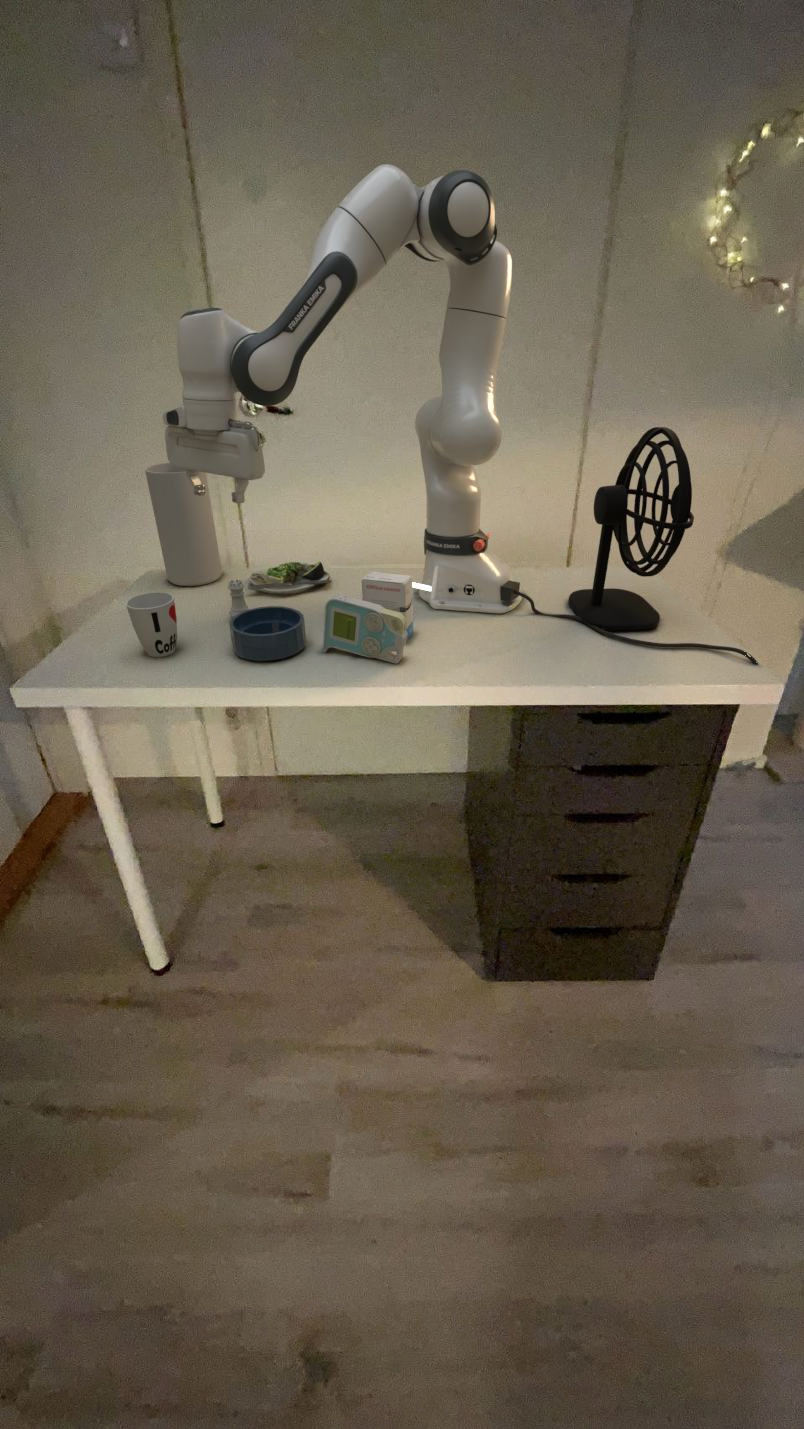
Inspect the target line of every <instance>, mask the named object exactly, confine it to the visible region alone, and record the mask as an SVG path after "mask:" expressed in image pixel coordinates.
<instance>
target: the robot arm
mask: <svg viewBox="0 0 804 1429" xmlns="http://www.w3.org/2000/svg"><path fill="white" fill-rule="evenodd" d="M495 209H496V208H495V203H494V197H493V194H492V191H491V189H490V187H489V185H488V183H487V182H486V180H485V179H484V178H483V177H482V176H481V175H479V174H478V173H476V172H474V171H471V170H467V169H466V170H465V169H456V170H452V171H450V172H448V173H446V174H444V175H441V176H439V177H436V178H434V179H432V180H431V181H430V182H429V183H428V184H426V185H423V186H421V187H419V186H418V185H416V184H415V183H413V181H412V180H411V178H410V177H409V176H408V174H407V173H406V172H404V171H403V170H402V169H401V168H399V167H398V166H395V165H394V164H390V163H383V164H380V165H378V166H376V167H375V168H374V169H373V170H372V171H370V172H369V173H368V174H367V175H366V176H364V177H363V178H362V179H361V180H360V181H359V182H358V183H357V184H356V185H355V186H354V187H353V188H352V189H351V190H350V191H349V192H348V193H347V194H346V196H345V197H343V199H342V201H341V202H339V204H338V205H337V206H336V208H334V210H333V211H332V212H331V214H330V215H329V217H328V219H327V220H326V221H325V223H324V224H323V226H322V228H321V230H320V231H319V233H318V235H317V237H316V239H315V241H314V243H313V245H312V248H311V261H310V266H309V270H308V273H307V275H306V277H305V279H304V282H303V283H302V285H301V286H300V288H299V289H298V291H297V292H296V293H295V294H294V296H293V297H292V298H291V300H289V302H288V304H286V306H285V307H284V309H283V310H282V312H281V313H280V314H279V315H278V317H277V318H276V319H275V320H274V322H273V323H272V324H271V325H270V326H268V327H267V328H265V329H263V330H262V331H260V332H258V331H257V330H253V329H252V328H249V327H248V326H246V325H244V324H242V323H241V322H239V321H238V320H237V319H235V318H233V317H232V316H230V315H229V314H228V313H227V312H226V311H225V310H224V309H223V308H220V307H208V308H201V309H195V310H189V311H187V312H185V313H184V314H182V315H181V316H180V318H179V319H178V321H177V325H176V350H177V360H178V369H179V373H180V375H181V378H182V385H183V386H182V392H181V393H182V404H181V405H179V406H176V407H173V408H171V409H168V410H165V411H163V413H162V419H163V423H164V425H166V426H167V427H166V428H165V431H164V441H165V449H166V450H165V451H166V456H167V460H168V463H170V464H171V465H172V466H173V467H176V468H182V469H186V476H187V478H188V479H189V481H190V483H191V485H192V487H193V494H194V495H198V496H202V495H205V494H206V491H205V485H202V484H201V481H200V479H199V477H198V475H199V474H200V472H205V473H206V474H212V475H217V476H224V477H230V478H234V484H235V485H236V488H235V491H233V492H231V502H232V503H235V504H244V503H245V500H246V499H245V492H246V490H247V488H248V486H249V483H250V482H249V481H255V480H259V479H262V478H263V477H264V475H265V473H266V466H265V458H264V453H263V447H262V443H261V437H260V431H259V430H258V429H257V427H256V426H254V425H253V423H252V422H251V421H242V420H238V412H237V410H238V409H237V399H236V398H237V397H236V395H237V393H240V394H241V395H242V396H243V397H244V398H245V399H246V400H247V401H249V402H251V403H253V404H255V405H259V406H262V407H271V406H276V405H278V404H281V403H283V402H284V401H285V400H286V399H288V398H289V397H290V395H291V394H292V393H293V391H294V389H295V386H296V384H297V380H298V377H299V373H300V370H301V365H302V363H303V361H304V358H305V357H306V355H307V353H308V352H309V351H310V349H311V348H312V346H313V345H314V344H315V342H316V341H317V340H318V338H319V337H320V336H321V334H322V333H323V332H324V331H325V329H326V328H327V326H329V324H330V323H331V321H332V320H333V319H334V318H335V316H336V315H337V314H338V313H339V312H340V311H341V310H342V309H343V308H344V307H345V306H346V305H348V304H349V303H350V302H351V301H352V300H354V299H355V298H356V297H358V296H359V295H360V294H361V293H362V292H363V291H365V290H366V289H367V288H368V287H369V286H370V285H371V284H372V283H373V282H374V281H375V280H376V279H377V278H378V277H379V275H380V274H381V273H382V272H384V269H385V268H386V267H387V266H388V265H389V263H390V262H391V261H392V259H393V258H394V256H396V255H397V253H398V252H399V251H401V249H402V248H404V247H405V248H406V249H408V250H409V251H410V252H412V253H413V254H414V255H415V256H417V257H418V258H420V259H422V260H424V261H427V262H433V263H436V262H441V261H444V262H445V264H446V266H447V270H448V274H449V293H448V297H447V302H446V309H445V312H444V313H445V314H444V320H443V326H442V332H441V338H440V345H439V352H438V363H439V366H440V371H441V372H440V373H441V395H439V396H435V397H433V398H430V399H428V400H426V401H425V402H423V404H422V405H420V407H419V409H418V410H417V412H416V415H415V418H414V429H415V434H416V437H417V439H418V442H419V450H420V458H421V463H422V464H421V466H422V469H423V470H422V471H423V476H424V482H425V494H426V528H424V536H423V553H424V566H423V573H422V579H421V582H420V583H417V582H413V581H412V588H414V589H419V590H418V596H419V597H420V598H421V599H422V600H423V601H425V602H427V603H428V604H429V605H430V607H431V608H432V609H435V610H444V611H445V610H446V611H458V612H471V613H472V612H473V613H475V612H476V613H487V614H505V613H508V612H510V611H512V610H514V609H515V608H517V607H518V605H519V604H520V603H521V601H522V599H523V598H524V599H525V600H527V601H528V602H529V603H530V607H531V611H532V612H533V613H535V614H536V615H538V616H544V617H551V618H559V619H560V618H561V619H572V620H576V621H579V622H581V623H583V624H585V625H587V626H589V627H590V628H591V629H593V630H594V631H597V632H598V633H600V634H602V635H604V636H607V637H610V638H613V639H616V640H619V641H623V642H627V643H631V644H635V645H642V646H646V647H647V646H648V647H655V648H700V649H706V650H715V651H727V652H732V653H737V654H740V655H742V656H744V657H745V658H747V659H748V660H749V661H750V662H751V663H752V664H753V665H755V666H759V662H758V661H757V660H756V658H755V657H754V656H753V655H752V654H750V653H748V652H747V651H745V650H743V649H741V648H738V647H733V646H723V645H712V644H706V643H694V642H683V643H682V642H680V643H679V642H676V643H675V642H674V643H667V642H666V643H664V642H663V643H662V642H653V641H645V640H640V639H635V638H630V637H626V636H622V635H619V634H615V633H613V632H610V631H608V630H604V629H600V628H599V627H597V626H594V625H588V624H587V623H585V622H583V621H582V619H581V618H580V617H579V616H578V615H574V614H565V613H563V614H552V613H551V614H549V613H544V612H542V611H539V610H538V609H536V606H535V601H534V600H533V598H531V597H530V596H529V595H527V594H526V593H523V591H522V590H521V588H520V586H521V582H519V581H514V580H513V575H512V570H511V568H510V567H509V566H508V565H507V564H506V563H505V562H504V561H502V559H500V558H499V557H498V556H497V555H496V554H495V553H493V552H492V551H491V550H490V549H489V548H488V546H489V539H490V532H488V533H487V534H486V533H485V532H483V531H482V530H481V528H480V522H481V501H482V491H481V486H480V484H479V482H478V478H477V473H476V469H475V466H479V465H483V464H485V463H487V462H489V461H490V460H491V459H493V457H494V456H495V455H496V454H497V452H498V450H499V449H500V446H501V443H502V437H503V435H502V434H503V432H502V426H501V423H500V420H499V416H498V368H499V361H500V356H501V351H502V345H503V340H504V334H505V329H506V326H507V325H506V324H507V319H508V314H509V309H510V308H509V307H510V300H511V291H512V280H513V258H512V255H511V252H510V250H509V249H508V248H507V246H506V245H504V244H503V243H502V242H500V241H498V240H497V238H498V227H497V222H496V212H495V211H496V210H495ZM744 651H745V652H744ZM747 653H748V654H749V655H750V656H751V657H749V656H748V655H747ZM745 655H746V656H745ZM756 662H757V663H756Z"/></svg>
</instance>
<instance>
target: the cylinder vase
mask: <svg viewBox="0 0 804 1429" xmlns="http://www.w3.org/2000/svg"><path fill="white" fill-rule="evenodd" d="M144 472H145V476H146V481H147V487H148V492H149V496H150V501H151V505H152V510H153V515H154V520H155V524H156V530H157V534H158V539H159V544H160V545H159V546H160V548H161V549H160V550H161V555H162V558H163V564H164V569H165V573H166V578H167V580H168V582H170V583H171V584H173V585H176V586H180V587H195V586H203V585H208V584H211V583H213V582H215V581H217V580H219V579H220V578H221V577H222V575H223V569H222V563H221V557H220V551H219V544H218V538H217V533H216V527H215V520H214V514H213V508H212V502H211V494H210V489H209V483H208V477H207V473H205V472H200V474H199V475H198V477H199V479H200V481H201V484H202V485H205V491H206V494H205V495H202V496H198V495H194V494H193V487H192V485H191V483H190V481H189V479H188V478H187V476H186V469H182V468H176V467H173V466H172V465H171V464H170V462H163V463H157V464H153V465H149V466H147V467H145V469H144Z"/></svg>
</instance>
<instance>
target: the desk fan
mask: <svg viewBox="0 0 804 1429" xmlns="http://www.w3.org/2000/svg"><path fill="white" fill-rule="evenodd" d="M660 434H662V435H663V436H664V437H665V438H666V439H667V440H661V441H659V442H655V441H653V439H654V438H655V437H657V436H658V435H660ZM681 443H682V442H681V440H680V438H679V437H678V435H677V433H675V431H674V430H672V429H670V428H669V427H665V426H655V427H651V428H650V429H648V430H647V431H645V433H643V435H642V436H641V437H640V439H639V440H638V442H637V443H636V445H635V446H633V448H631V451H630V452H629V454H628V456H627V457H626V460H625V462H624V465H623V466H622V468H621V469H620V471H619V473H618V475H617V478H616V481H615V484H613V485H603V486H600V487H599V488H598V489H597V490H596V492H595V496H594V499H593V500H594V501H593V517H594V521H595V522H596V524H597V525H601V530H600V535H599V536H600V538H599V543H598V550H597V556H596V562H595V569H594V570H595V571H594V576H593V583H592V588H587V589H586V588H585V589H578V590H575V591H573V592H571V593H570V594H569V596H568V605H569V606H570V607H571V608H572V610H573V611H574V612H575V614H576V616H578V617H580V618H581V619H582V621H583V622H585V623H587V624H588V625H587V624H586V625H587V626H589V625H594V626H597V627H599V628H600V629H602V630H605V631H635V630H636V631H638V630H649V629H653V628H655V627H657V626H658V625H659V624H660V620H661V615H660V614H659V612H658V610H657V609H655V608H654V606H652V605H651V604H650V603H649V602H648V601H647V600H646V599H645V598H644V597H643V596H641V595H640V594H638V593H636V592H633V591H631V590H626V589H622V588H615V587H614V588H612V587H611V588H605V585H606V578H607V573H608V565H609V559H610V553H611V548H612V547H611V546H612V540H613V536H614V538H615V540H616V542H617V545H618V551H619V555H620V559H621V561H622V562H623V565H624V566H625V567H626V569H628V571H630V572H631V573H633V574H636V575H637V576H639V577H644V578H645V577H646V578H647V577H648V578H649V577H654V576H657V575H658V574H660V573H661V572H662V571H664V569H665V568H666V567H667V565H668V564H669V562H670V561H671V559H672V557H673V556H674V555H675V553H676V552H677V550H678V548H679V547H680V545H681V543H682V540H683V538H684V534H685V532H686V530H687V529H690V528H691V527H693V524H694V520H695V517H694V514H693V513H692V511H691V509H692V503H693V502H692V501H693V486H692V477H691V469H690V464H689V460H688V457H687V454H686V452H685V450H684V448H683V447H682V444H681ZM667 445H668V446H670V447H671V448H672V450H673V453H674V456H675V460H671V461H669V462H667V460H666V456H665V454H664V451H663V449H662V448H663V447H665V446H667ZM646 446H648V447H650V448H651V450H650V451H649V453H648V454H647V456H646V458H645V460H644V463H643V464H642V465H641V464H640V463H639V462H638V459H639V457H640V456H641V454H642V452H643V450H644V449H645V447H646ZM655 456H656V458H657V460H658V464H659V467H660V468H659V469H660V473H659V474H658V477H657V479H656V481H655V485H654V489H653V492H651V491H648V488H647V479H646V475H647V472H648V469H649V467H650V464H651V463H652V461H653V459H654V457H655ZM675 464H676V466H677V474H678V475H677V476H678V477H677V478H678V484H677V485H676V486H675V488H674V490H673V492H672V494H671V498H670V477H669V468H670V467H671V466H672V465H675ZM635 469H637V471H638V474H639V476H638V479H637V485H636V488H630V487H631V482H632V477H633V473H634V470H635ZM661 484H662V485H661ZM660 485H661V486H662V493H661V494H662V495H661V494H658V492H659V488H660ZM629 495H633V496H634V497H635V498H634V506H633V511H632V510H630V509H629V508H628V505H629ZM641 498H642V499H641ZM648 498H650V499H652V500H651V512H650V514H651V518H650V517H647V516H646V513H647V504H648ZM641 500H642V502H641ZM657 501H659V502H661V509H660V517H659V520H657V518H656V516H657V514H656V508H657V507H656V505H657ZM669 507H670V508H669ZM640 508H641V509H640ZM640 510H641V512H640ZM669 511H670V516H671V522H667V519H668V518H667V517H668V512H669ZM628 517H630V518H632V519H633V526H634V535H633V537H632V538H631V540H629V532H628V521H627V520H628ZM644 524H646V525H650V526H652V530H653V533H654V539H653V540H652V544H651V546H650V547H649V550H648V551H647V549H646V547H645V544H644V542H643V537H642V530H643V526H644ZM665 529H666V530H668V532H667V534H666V536H665V538H664V539H663V535H664V531H665ZM635 543H636V544H637V549H638V550H639V553H640V554H641V556H642V558H641V559H639V560H635V558H634V555H633V552H632V549H631V546H633V544H635ZM660 544H661V546H660V548H659V550H658V551H657V549H658V547H659V545H660ZM665 549H666V550H665ZM656 551H657V553H656ZM664 551H665V552H664ZM655 553H656V554H655ZM663 553H664V554H663ZM662 554H663V556H662ZM654 555H655V556H654ZM661 556H662V557H661ZM652 557H653V558H652ZM660 557H661V558H660ZM646 563H647V564H646ZM644 564H645V565H644ZM642 565H643V566H642ZM654 565H655V567H653V566H654ZM651 568H653V569H651ZM650 569H651V570H650ZM583 622H582V623H583ZM585 623H584V624H585Z"/></svg>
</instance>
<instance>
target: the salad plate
mask: <svg viewBox="0 0 804 1429" xmlns="http://www.w3.org/2000/svg"><path fill="white" fill-rule="evenodd" d="M330 578H331V576H330V573H329V572H327V571H326V570H325V569H324V565H323V563H322V562H321V561H317V562H316V563H314V564H311V563H308V562H299V561H297V562H296V561H289V562H284V563H281V564H279V565H278V566H274V567H269V568H265V569H260V570H256V571H254V572H252V573H251V574H250V575H249V577H248V579H247V580H248V581H249V582H250V583H251V584H250V585H248V586H247V590H250V591H260V592H262V593H264V594H271V595H272V594H273V595H295V594H300V593H303V592H308V591H309V592H310V591H314V590H317V589H320V588H323V587H325V586H326V585H327V584H329V583H330V582H332V579H330Z"/></svg>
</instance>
